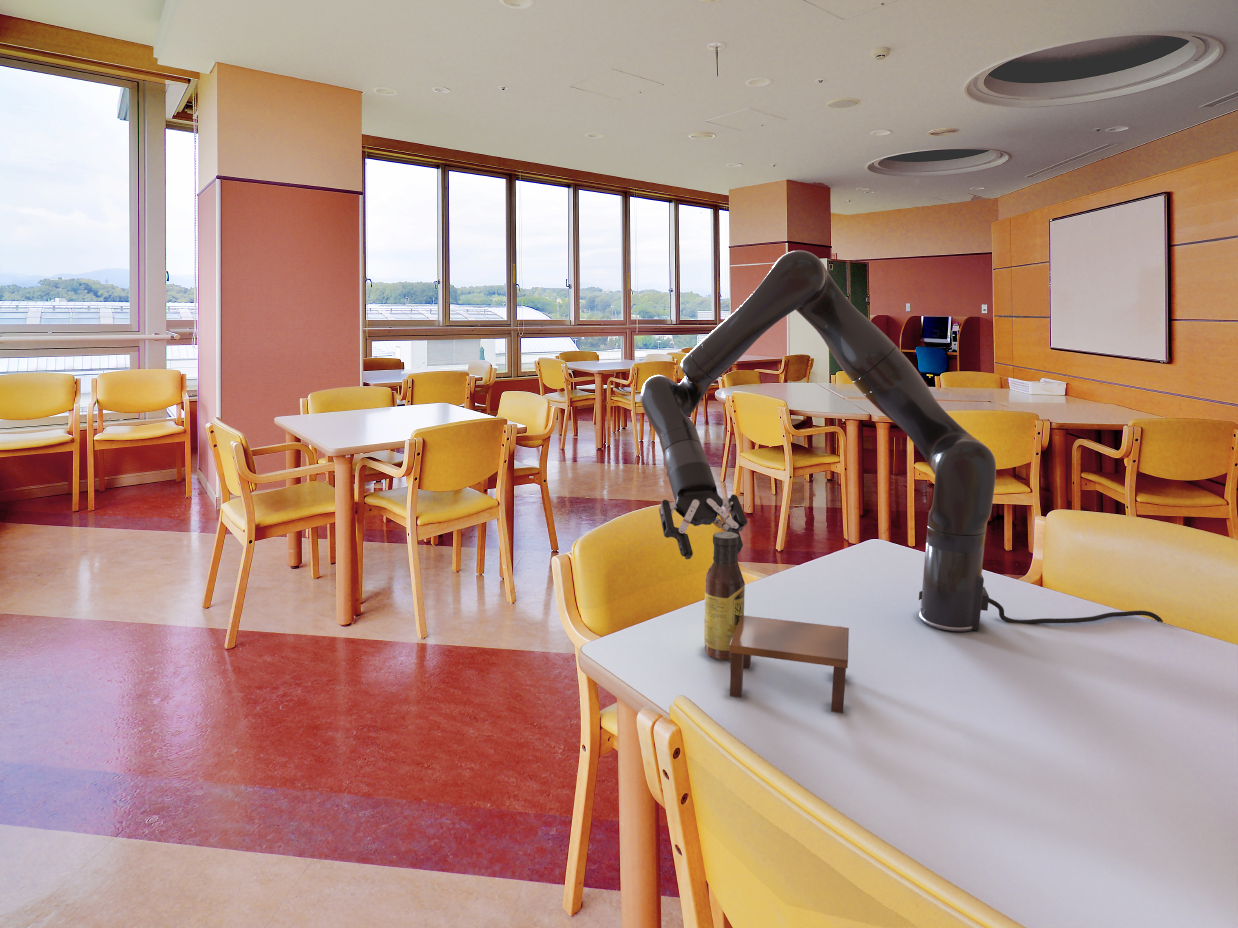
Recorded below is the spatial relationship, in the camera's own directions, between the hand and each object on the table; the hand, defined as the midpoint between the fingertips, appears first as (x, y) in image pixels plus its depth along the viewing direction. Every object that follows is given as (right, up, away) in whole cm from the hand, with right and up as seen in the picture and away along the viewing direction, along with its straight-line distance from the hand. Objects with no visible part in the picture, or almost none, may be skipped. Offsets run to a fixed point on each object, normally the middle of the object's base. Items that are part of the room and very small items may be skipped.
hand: (713, 554), depth 120 cm
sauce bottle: (+1, -16, -1) cm, 16 cm away
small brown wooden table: (+9, -18, -12) cm, 24 cm away
